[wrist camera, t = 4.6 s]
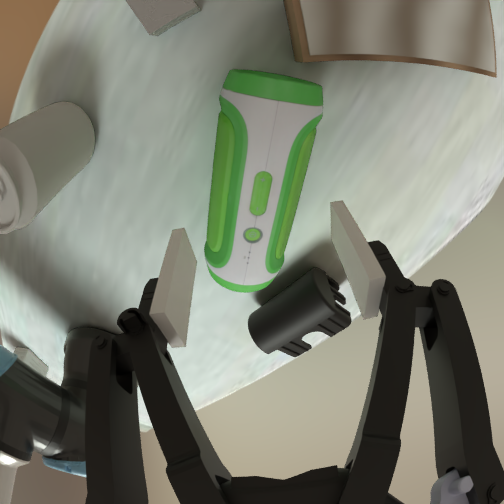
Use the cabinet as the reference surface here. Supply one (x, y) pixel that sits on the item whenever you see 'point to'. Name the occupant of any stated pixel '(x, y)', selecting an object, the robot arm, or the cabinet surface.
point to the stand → (395, 32)
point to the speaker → (258, 174)
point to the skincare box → (31, 360)
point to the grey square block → (162, 13)
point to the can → (41, 160)
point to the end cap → (299, 314)
